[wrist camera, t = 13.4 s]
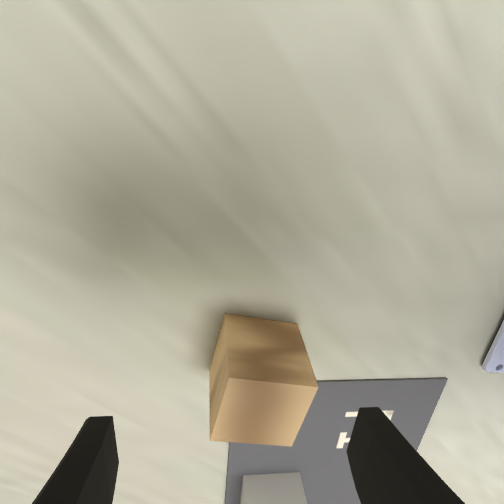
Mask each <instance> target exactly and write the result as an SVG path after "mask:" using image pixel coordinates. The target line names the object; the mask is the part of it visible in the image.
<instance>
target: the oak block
mask: <svg viewBox="0 0 504 504" xmlns="http://www.w3.org/2000/svg"><path fill="white" fill-rule="evenodd" d="M209 371H210V441H222V442H236V443H249V444H263V445H277V446H291V447H292V445H293V442H294V440H295V438H296V436H297V434H298V431H299V429H300V427H301V425H302V423H303V420H304V418H305V416H306V414H307V412H308V409H309V407H310V405H311V403H312V401H313V398H314V396H315V394H316V392H317V390H318V384H317V381H316V378H315V375H314V372H313V369H312V366H311V363H310V360H309V357H308V354H307V351H306V348H305V345H304V342H303V339H302V336H301V333H300V330H299V327H298V324H296V323H289V322H282V321H275V320H268V319H261V318H254V317H247V316H240V315H233V314H226V313H225V315H224V319H223V322H222V326H221V330H220V333H219V337H218V341H217V344H216V348H215V352H214V355H213V359H212V363H211V366H210V370H209Z"/></svg>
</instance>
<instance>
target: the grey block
mask: <svg viewBox="0 0 504 504" xmlns="http://www.w3.org/2000/svg"><path fill="white" fill-rule="evenodd" d="M240 504H307V501H306V497H305V492H304V488H303V483H302V479H301V474H300V472H294V473H277V474H259V475H243V482H242V491H241V501H240Z"/></svg>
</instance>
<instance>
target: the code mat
mask: <svg viewBox="0 0 504 504" xmlns="http://www.w3.org/2000/svg"><path fill="white" fill-rule="evenodd" d="M446 382H447V378H424V379H383V380H343V381H317V384H318V390H317V392H316V394H315V396H314V398H313V401H312V403H311V405H310V407H309V409H308V412H307V414H306V416H305V418H304V420H303V423H302V425H301V427H300V429H299V431H298V434H297V436H296V438H295V440H294V442H293V445H292V447H291V446H277V445H263V444H249V443H236V442H229V455H228V468H227V482H226V495H225V504H240V501H241V491H242V482H243V475H259V474H277V473H294V472H300V474H301V479H302V483H303V488H304V492H305V497H306V501H307V504H361V502H360V500H359V497H358V494H357V491H356V488H355V484H354V480H353V477H352V473H351V469H350V464H349V460H348V456H347V452H346V451H347V447H348V444H349V441H350V437H351V434H352V431H353V427H354V424H355V421H356V417H357V414H358V411H359V408H360V407H379V408H380V409H381V410H382V411H383V412H384V414H385V415H386V416H387V417H388V418H389V420H390V421H391V422H392V423H393V424H394V425H395V427H396V428H397V429H398V430H399V431H400V432H401V434H402V435H403V436H404V437H405V438H406V440H407V441H408V442H409V443H410V444H411V445H412V446H413V448H414V449H415V450H416V451H417V449H418V446H419V444H420V442H421V439H422V437H423V435H424V433H425V430H426V428H427V426H428V423H429V421H430V419H431V416H432V414H433V412H434V409H435V407H436V405H437V402H438V400H439V398H440V395H441V393H442V391H443V388H444V386H445V384H446Z"/></svg>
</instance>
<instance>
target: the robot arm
mask: <svg viewBox="0 0 504 504" xmlns="http://www.w3.org/2000/svg"><path fill="white" fill-rule="evenodd" d="M482 367H483V369H484V370H485V371H486V372H489V373H491V372H504V320H503V322H502V325H501V327H500V329H499V331H498V333H497V335H496V337H495V339H494V341H493V343H492V345H491V348H490V350H489V352H488V354H487V356H486V358H485V360H484V362H483V365H482ZM346 452H347V456H348V460H349V464H350V469H351V473H352V477H353V480H354V484H355V488H356V491H357V494H358V497H359V500H360V502H361V504H465V503H464V502H463V501H462V500H461V499H460V498H459V497H458V496H457V495H456V494H455V493H454V492H453V491H452V490H451V489H450V488H449V487H448V485H447V484H446V483H445V482H444V481H443V480H442V479H441V478H440V477H439V476H438V475H437V473H436V472H435V471H434V470H433V469H432V468H431V467H430V466H429V465H428V464H427V462H426V461H425V460H424V459H423V458H422V457H421V456H420V455H419V453H418V452H417V451H416V450H415V449H414V448H413V446H412V445H411V444H410V443H409V442H408V441H407V440H406V438H405V437H404V436H403V435H402V434H401V432H400V431H399V430H398V429H397V428H396V427H395V425H394V424H393V423H392V422H391V421H390V420H389V418H388V417H387V416H386V415H385V414H384V412H383V411H382V410H381V409H380V408H379V407H360V408H359V411H358V414H357V417H356V421H355V424H354V427H353V431H352V434H351V437H350V441H349V444H348V447H347V451H346ZM118 465H119V460H118V453H117V445H116V438H115V431H114V423H113V416H100V417H89V418H88V419H86V421H85V422H84V424H83V426H82V428H81V429H80V431H79V433H78V434H77V436H76V438H75V440H74V441H73V443H72V444H71V446H70V448H69V449H68V451H67V452H66V454H65V456H64V457H63V459H62V460H61V462H60V463H59V465H58V466H57V468H56V469H55V471H54V472H53V474H52V475H51V477H50V478H49V480H48V481H47V483H46V484H45V486H44V487H43V488H42V490H41V491H40V493H39V494H38V496H37V497H36V499H35V500H34V501H33V503H32V504H112V501H113V495H114V490H115V484H116V477H117V471H118Z"/></svg>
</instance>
